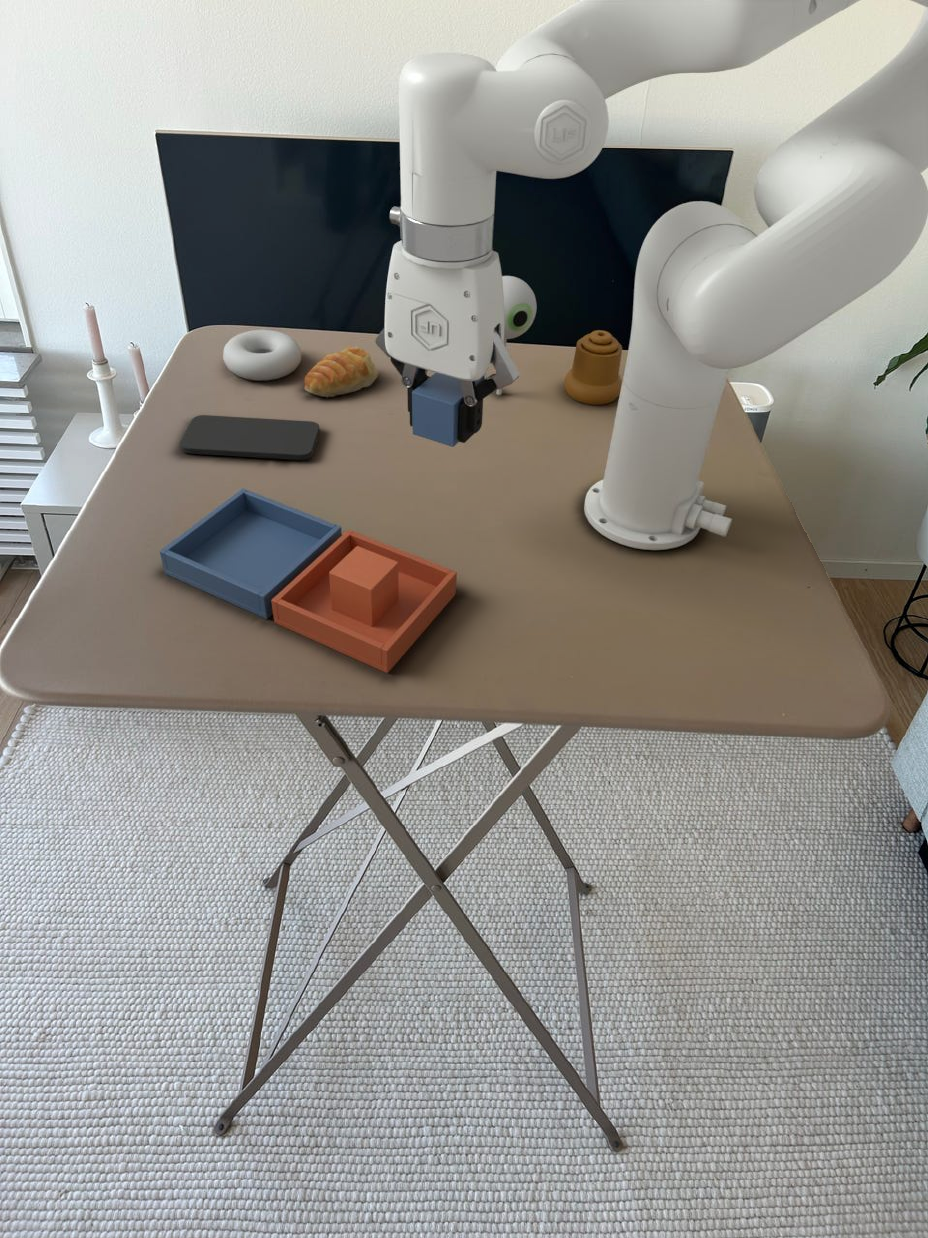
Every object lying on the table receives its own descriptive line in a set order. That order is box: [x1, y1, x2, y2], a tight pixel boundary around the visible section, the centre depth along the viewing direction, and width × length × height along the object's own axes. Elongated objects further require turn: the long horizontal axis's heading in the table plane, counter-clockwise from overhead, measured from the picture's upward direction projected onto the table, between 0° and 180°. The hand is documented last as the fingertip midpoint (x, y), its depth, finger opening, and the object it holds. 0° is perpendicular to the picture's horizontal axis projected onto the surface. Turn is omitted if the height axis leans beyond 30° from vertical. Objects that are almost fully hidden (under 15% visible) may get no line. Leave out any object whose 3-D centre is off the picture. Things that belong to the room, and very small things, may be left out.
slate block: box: [412, 372, 464, 448], centre depth 83 cm, size 4×4×4 cm
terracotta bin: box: [271, 529, 458, 674], centre depth 81 cm, size 12×12×3 cm
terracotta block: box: [329, 546, 398, 627], centre depth 80 cm, size 4×4×4 cm
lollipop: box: [496, 275, 538, 396], centre depth 108 cm, size 7×7×15 cm
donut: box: [222, 329, 302, 381], centre depth 114 cm, size 10×4×10 cm
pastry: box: [304, 345, 379, 398], centre depth 111 cm, size 9×7×4 cm
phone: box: [179, 414, 321, 461], centre depth 102 cm, size 7×1×15 cm
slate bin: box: [159, 487, 343, 620], centre depth 86 cm, size 12×12×3 cm
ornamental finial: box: [563, 329, 623, 406], centre depth 112 cm, size 8×8×8 cm
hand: (444, 426), depth 85 cm, fingers closed on slate block, 4 cm apart
